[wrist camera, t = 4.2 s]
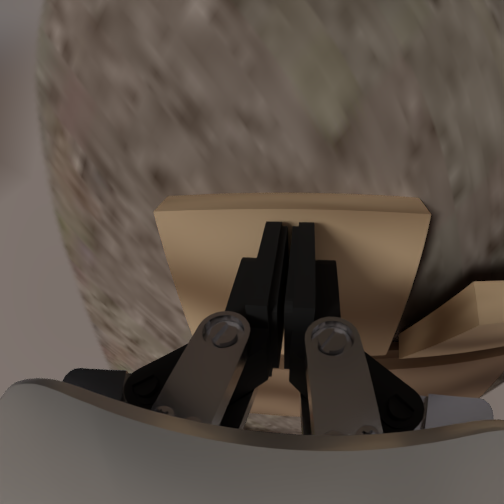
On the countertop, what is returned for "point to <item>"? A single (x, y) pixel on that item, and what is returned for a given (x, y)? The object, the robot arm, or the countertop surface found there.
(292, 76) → the countertop surface
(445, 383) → the wooden board
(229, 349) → the robot arm
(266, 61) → the countertop surface
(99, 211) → the countertop surface
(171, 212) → the plank
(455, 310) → the plank
